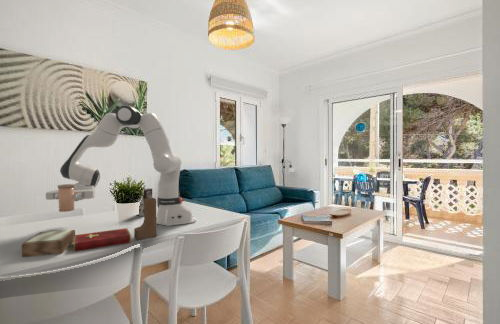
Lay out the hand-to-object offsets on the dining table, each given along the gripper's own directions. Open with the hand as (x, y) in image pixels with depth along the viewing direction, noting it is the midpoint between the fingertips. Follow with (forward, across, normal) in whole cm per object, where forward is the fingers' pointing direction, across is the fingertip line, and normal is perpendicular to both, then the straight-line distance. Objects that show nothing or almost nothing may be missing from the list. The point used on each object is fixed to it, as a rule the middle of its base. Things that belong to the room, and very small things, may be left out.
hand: (65, 196), depth 123 cm
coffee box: (-37, +31, +19) cm, 52 cm away
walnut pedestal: (+16, 0, +19) cm, 25 cm away
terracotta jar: (-1, 0, +6) cm, 7 cm away
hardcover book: (+14, +18, +20) cm, 30 cm away
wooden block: (+11, +36, +19) cm, 42 cm away
